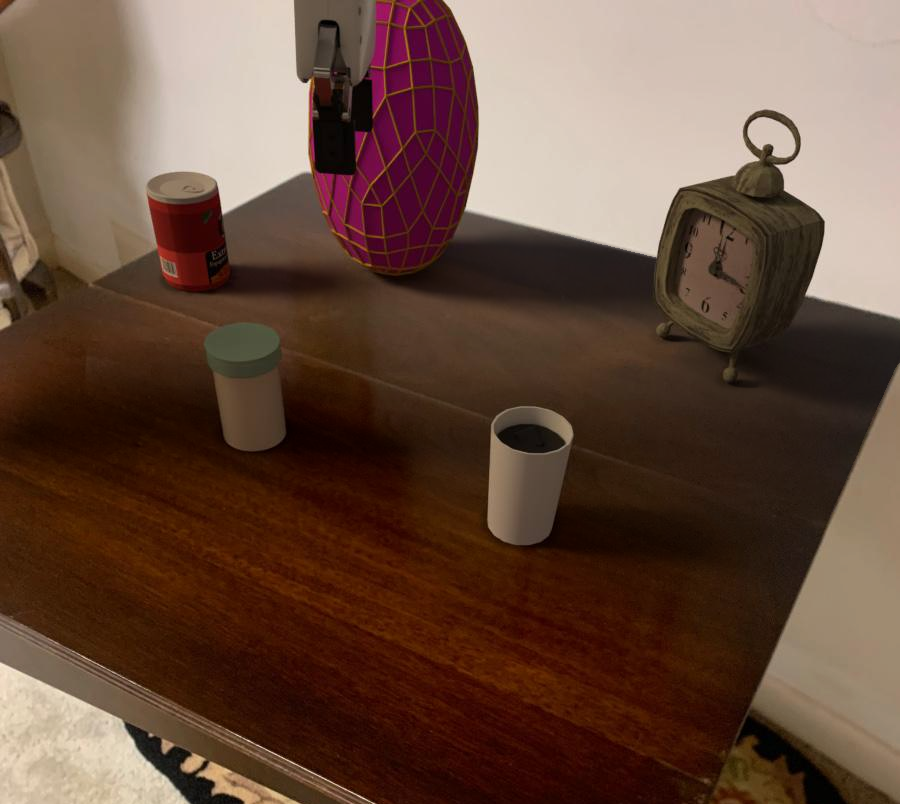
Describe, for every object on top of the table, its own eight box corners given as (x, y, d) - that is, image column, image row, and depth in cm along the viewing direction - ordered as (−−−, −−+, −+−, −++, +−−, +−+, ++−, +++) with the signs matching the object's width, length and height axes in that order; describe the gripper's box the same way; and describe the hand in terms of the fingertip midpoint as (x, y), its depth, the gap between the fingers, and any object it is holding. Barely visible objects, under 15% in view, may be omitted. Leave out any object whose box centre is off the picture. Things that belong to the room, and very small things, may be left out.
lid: (197, 374, 78) (194, 357, 76) (216, 336, 82) (214, 319, 81) (273, 381, 78) (271, 364, 76) (288, 342, 82) (286, 325, 81)
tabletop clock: (639, 333, 102) (691, 95, 84) (696, 315, 106) (758, 83, 88) (728, 395, 94) (807, 146, 76) (787, 373, 98) (875, 130, 80)
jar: (216, 448, 84) (200, 361, 77) (232, 412, 88) (218, 326, 81) (279, 454, 84) (268, 366, 77) (291, 417, 88) (283, 331, 81)
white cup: (473, 503, 80) (481, 410, 73) (544, 495, 81) (558, 402, 74) (493, 553, 75) (503, 459, 68) (567, 543, 77) (585, 449, 70)
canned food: (225, 294, 104) (211, 199, 96) (157, 291, 104) (137, 196, 96) (236, 264, 110) (223, 172, 102) (170, 261, 109) (153, 169, 101)
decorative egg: (316, 233, 117) (297, -43, 95) (461, 232, 119) (476, -38, 97) (315, 304, 104) (294, 3, 82) (479, 302, 106) (500, 8, 84)
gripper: (305, -131, 68) (319, 112, 80) (253, -91, 56) (279, 188, 68) (403, -124, 68) (402, 118, 80) (371, -83, 56) (376, 195, 68)
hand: (345, 150), depth 74 cm, fingers open, 9 cm apart
